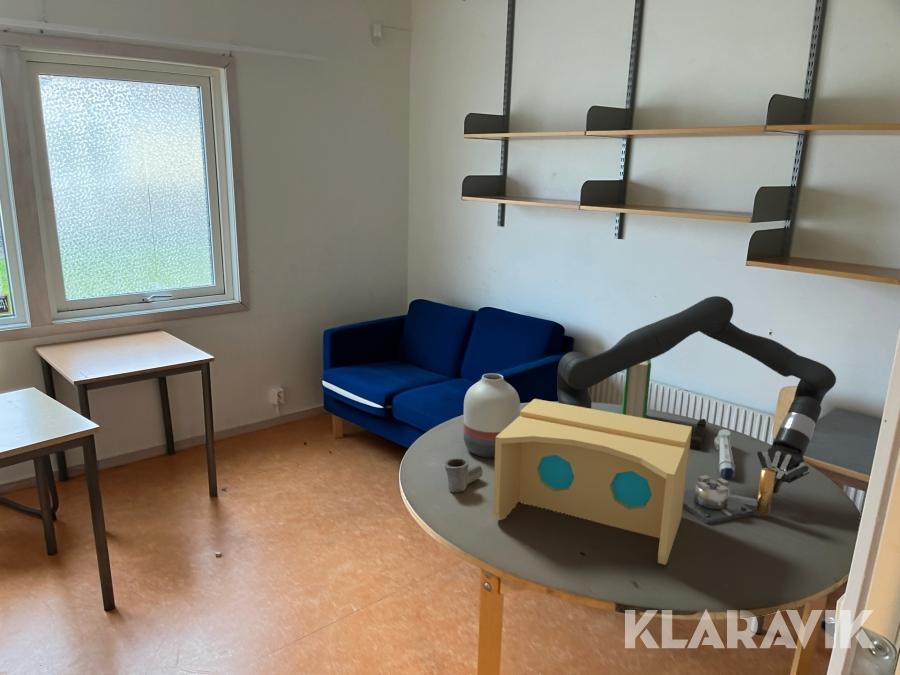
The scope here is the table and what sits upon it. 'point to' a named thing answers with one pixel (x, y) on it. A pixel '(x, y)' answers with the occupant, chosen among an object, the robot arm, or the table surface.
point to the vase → (488, 413)
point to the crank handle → (718, 495)
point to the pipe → (461, 474)
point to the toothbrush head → (725, 454)
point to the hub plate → (714, 510)
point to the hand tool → (698, 435)
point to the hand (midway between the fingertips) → (770, 492)
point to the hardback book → (636, 390)
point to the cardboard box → (595, 468)
